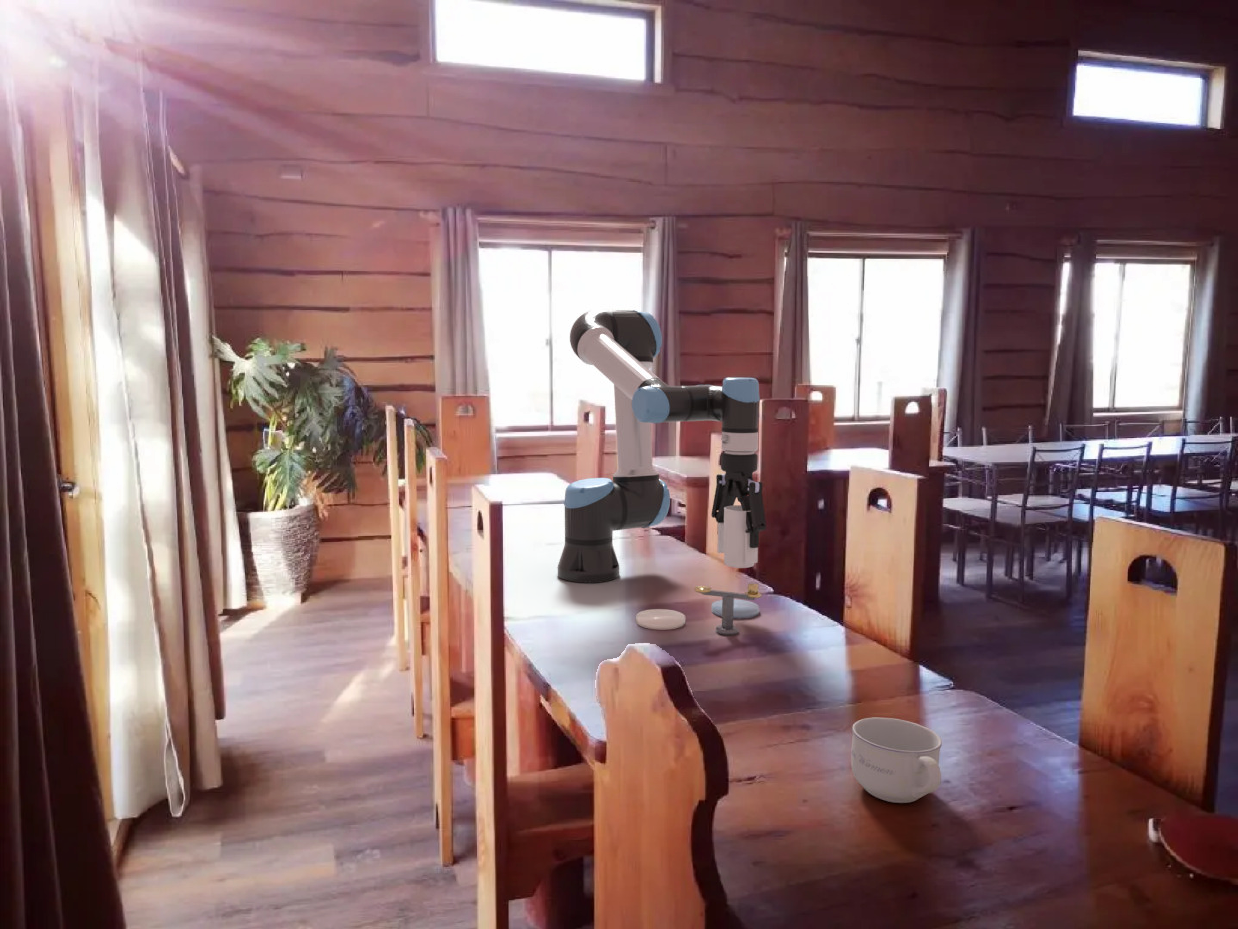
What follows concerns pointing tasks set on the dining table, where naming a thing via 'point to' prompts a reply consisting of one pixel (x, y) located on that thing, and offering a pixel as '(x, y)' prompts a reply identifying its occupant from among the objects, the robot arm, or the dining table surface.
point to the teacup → (895, 759)
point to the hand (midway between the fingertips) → (736, 557)
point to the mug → (735, 536)
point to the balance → (729, 605)
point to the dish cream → (660, 619)
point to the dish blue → (738, 609)
